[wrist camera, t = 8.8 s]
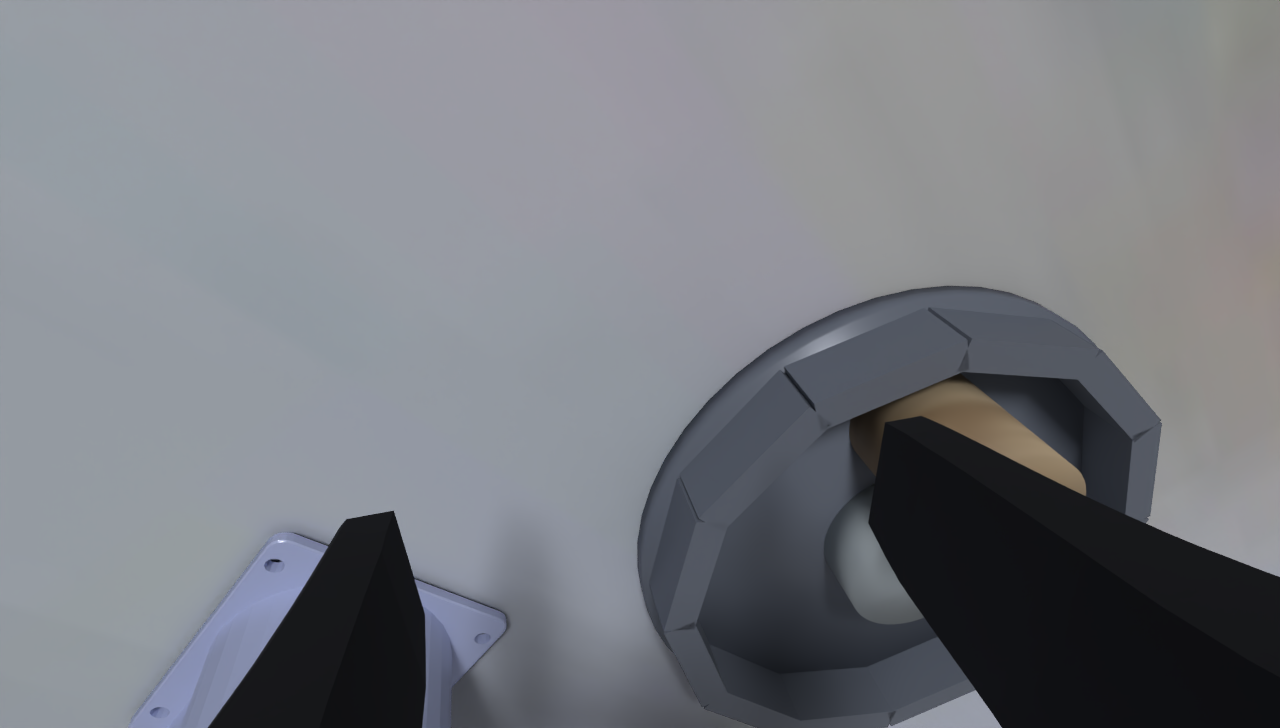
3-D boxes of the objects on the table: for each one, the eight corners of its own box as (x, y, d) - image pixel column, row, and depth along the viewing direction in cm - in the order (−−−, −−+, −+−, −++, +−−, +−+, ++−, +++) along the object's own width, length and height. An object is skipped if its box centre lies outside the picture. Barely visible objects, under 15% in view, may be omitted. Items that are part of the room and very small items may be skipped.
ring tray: (846, 719, 32) (877, 780, 29) (529, 591, 23) (537, 662, 21) (1175, 448, 27) (1243, 495, 25) (931, 163, 18) (1000, 191, 16)
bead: (896, 483, 23) (993, 597, 19) (824, 431, 21) (913, 546, 17) (987, 398, 22) (1110, 500, 18) (919, 336, 20) (1040, 434, 16)
